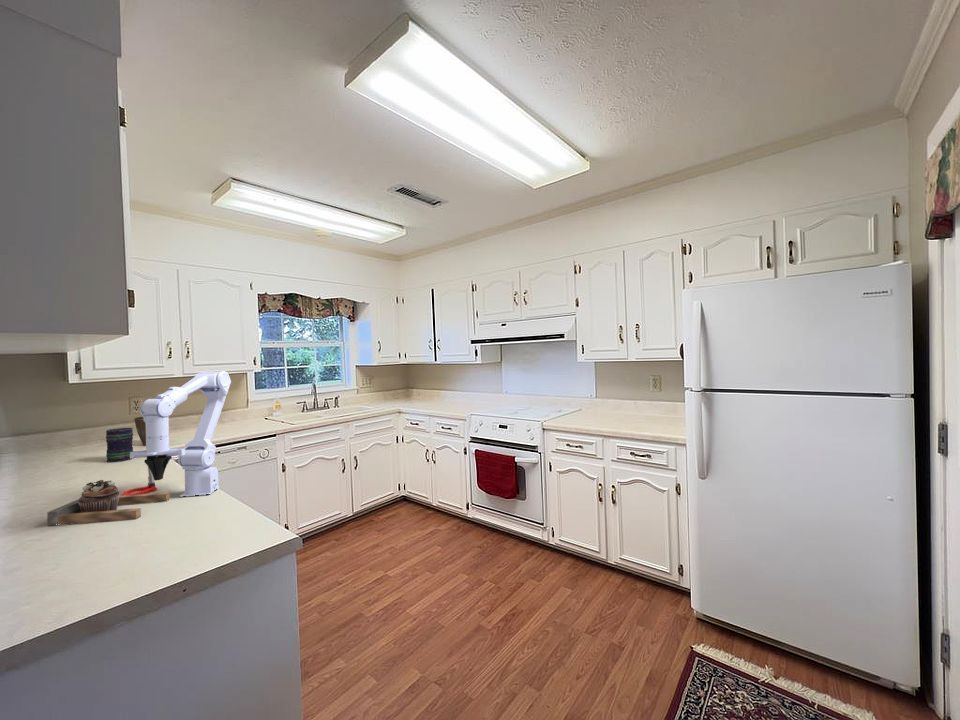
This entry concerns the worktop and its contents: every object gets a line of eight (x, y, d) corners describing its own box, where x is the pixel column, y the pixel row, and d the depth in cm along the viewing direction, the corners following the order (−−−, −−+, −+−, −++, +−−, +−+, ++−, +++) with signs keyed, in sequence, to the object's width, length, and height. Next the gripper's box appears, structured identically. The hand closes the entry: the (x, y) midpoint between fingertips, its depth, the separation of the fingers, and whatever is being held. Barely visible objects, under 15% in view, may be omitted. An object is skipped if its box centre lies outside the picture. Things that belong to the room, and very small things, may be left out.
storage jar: (111, 458, 199) (111, 428, 199) (136, 456, 203) (136, 427, 203) (102, 463, 190) (101, 431, 190) (128, 461, 194) (128, 430, 194)
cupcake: (128, 506, 130) (128, 476, 130) (100, 518, 120) (100, 485, 120) (99, 507, 130) (98, 476, 130) (68, 519, 120) (67, 486, 120)
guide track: (169, 499, 136) (169, 487, 136) (136, 518, 120) (136, 505, 120) (93, 505, 132) (93, 493, 132) (47, 526, 116) (47, 512, 116)
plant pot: (174, 441, 240) (173, 415, 240) (150, 447, 225) (150, 418, 225) (152, 441, 242) (152, 415, 242) (127, 447, 228) (127, 418, 228)
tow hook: (125, 499, 139) (158, 491, 146) (121, 462, 138) (155, 456, 146) (118, 495, 144) (151, 487, 151) (115, 459, 143) (148, 453, 151)
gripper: (122, 440, 122) (123, 485, 122) (176, 437, 125) (177, 481, 125) (138, 436, 129) (139, 478, 129) (188, 433, 132) (189, 475, 132)
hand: (158, 479), depth 127 cm, fingers closed
